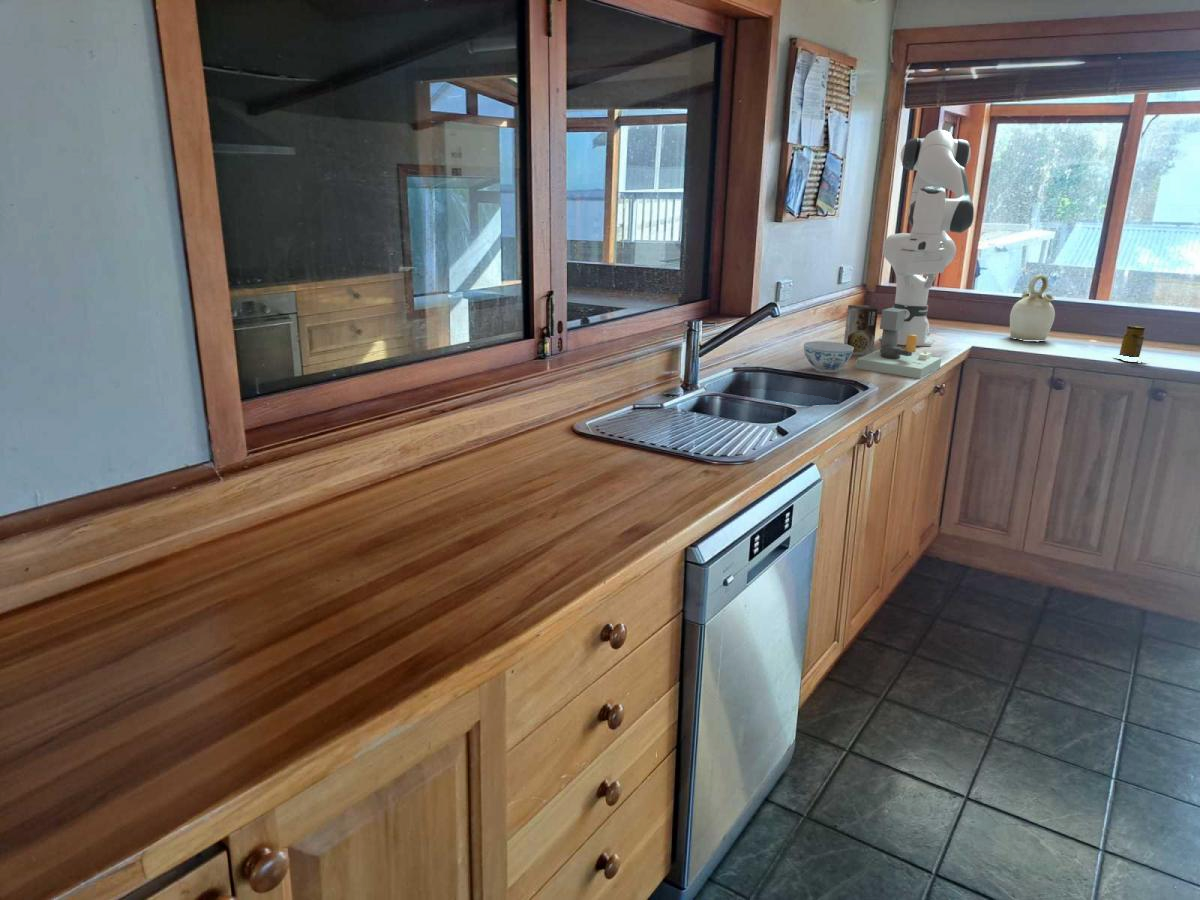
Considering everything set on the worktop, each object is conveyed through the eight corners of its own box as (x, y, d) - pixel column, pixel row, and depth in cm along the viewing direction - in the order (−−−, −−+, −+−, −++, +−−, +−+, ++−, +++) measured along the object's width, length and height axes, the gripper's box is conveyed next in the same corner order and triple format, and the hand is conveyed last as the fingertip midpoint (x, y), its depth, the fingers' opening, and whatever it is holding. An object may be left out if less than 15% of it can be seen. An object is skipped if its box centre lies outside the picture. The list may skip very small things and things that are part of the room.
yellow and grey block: (876, 355, 273) (880, 330, 270) (888, 353, 276) (892, 329, 274) (906, 362, 264) (910, 336, 262) (918, 360, 267) (922, 335, 265)
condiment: (1131, 358, 301) (1139, 325, 298) (1147, 363, 293) (1155, 329, 289) (1111, 358, 301) (1119, 324, 297) (1126, 363, 293) (1134, 328, 289)
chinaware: (848, 378, 255) (851, 352, 252) (797, 372, 260) (800, 347, 257) (852, 368, 268) (855, 344, 266) (804, 363, 273) (807, 339, 271)
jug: (1057, 344, 324) (1070, 277, 316) (1016, 342, 324) (1029, 276, 316) (1038, 336, 339) (1050, 273, 331) (999, 335, 339) (1010, 271, 331)
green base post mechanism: (878, 357, 286) (885, 307, 280) (939, 367, 275) (948, 314, 270) (855, 368, 268) (862, 314, 263) (920, 378, 258) (929, 322, 252)
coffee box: (868, 352, 294) (875, 305, 289) (872, 356, 288) (879, 308, 283) (842, 351, 295) (847, 304, 290) (845, 354, 289) (851, 307, 284)
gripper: (936, 241, 265) (929, 285, 270) (894, 242, 254) (888, 289, 258) (954, 242, 260) (947, 288, 265) (913, 244, 249) (906, 292, 254)
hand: (918, 289), depth 261 cm, fingers open, 8 cm apart
